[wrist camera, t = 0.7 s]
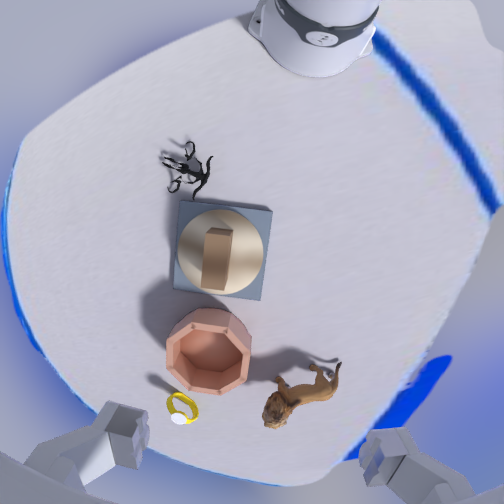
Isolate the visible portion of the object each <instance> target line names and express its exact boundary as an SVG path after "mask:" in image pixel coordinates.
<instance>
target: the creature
mask: <svg viewBox="0 0 504 504" xmlns="http://www.w3.org/2000/svg"><path fill="white" fill-rule="evenodd" d="M190 142H191V141H190ZM187 143H189V142H187ZM187 143H186V144H187ZM191 143H193V142H191ZM185 150H186V148H185ZM186 153H187V150H186ZM194 153H195V144H194V143H193V151H192V153H191V154H190V156H189V155H188V154H187V155H186V154H185V157H187V161H188V160H189V159H191V158H192V156H193V154H194ZM212 157H214V156H211V157H210V158H209V159H208V160H207V163H206V166H207V172H206V174H204V173H203V169H202V165H201V164H202V163H201V162H199V161H198V160H197V159H196V160H197V161H198V162H199V163H200V166H201V168H200V171H199V172H194V171H191V170H190V169H189V166H188V165H187V164H183V163H178V164H180V165H182V167H178V168H181V169H176V170H177V171H179V172H181V173H182V174H186V173H188V174H190V175H192V176H194V177H196V180H195V181H194V182H188V183H190V184H193V183H195V182H197V181H199V180H201V185H200V186H199V187H198V188H196V189H195V191H194V193H193V197H192V198H193V200H194V197H195V194H196V193H197V192H198V191H199V190H200V189H201V188H202V187H203V186H204V185H205V184H206V183H207V179H208V177H209V175H210V160H211V158H212ZM164 158H165V159H168V160H170V161H172V162H174V163H177V162H176V161H174V159H172V158H168V157H164ZM162 163H163V164H164V165H165V166H167V167H169V168H172V169H175V168H173V167H172V166H171V164H170V165H168V164H165V163H164V162H162ZM173 166H174V165H173ZM176 167H177V166H176ZM179 178H181V176H180V177H179ZM179 178H178V179H179ZM181 179H182V178H181ZM174 181H175V182H177V183H178V185H177V189H175V190H174V191H173V192H171V191H169V189H168V191H169V192H170V193H174V192H176V191H177V190H178V189H179V187H180V183H181V181H180V180H177V179H176V180H174ZM174 181H172V182H174ZM185 184H186V183H185Z"/></svg>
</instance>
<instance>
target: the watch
mask: <svg viewBox="0 0 504 504" xmlns="http://www.w3.org/2000/svg"><path fill="white" fill-rule="evenodd" d="M173 397H178V398H179V399H181V400H182V401H183V402H185V403H186V404H188V405H189V406H190V408H191V410H192V413H193V418H192V419H189V418H188V417H187V415H186V414H185V413H184V412H182V411H177V410H176V409H175V408H174V406H173V402H172V399H173ZM167 408H168V410H169V412H170V413H171V419H172V421H173V422H174V423H176V424H180V425H182V424H185V423H186V424H189V423H191V422H193V421H194V420H196V419H197V418H198V415H199V412H198V408H197V406H196V404H195V402H194V401H192V400H191V399H190V398H188V397H187V396H185V395H184V394H183V393H181V392H175V393H173V394H172V395H171V396H169V397H168V399H167Z"/></svg>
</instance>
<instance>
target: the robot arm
mask: <svg viewBox="0 0 504 504" xmlns="http://www.w3.org/2000/svg"><path fill="white" fill-rule="evenodd" d="M381 1H382V0H260V1H259V3H258V5H257V7H256V10H255V12H254V14H253V16H252V19H251V21H250V23H249V26H248V31H249V33H250V34H251V35H252V36H254V37H255V38H257V39H258V40H260V41H261V42H262V43H263V44H264V45H265V47H266V49H267V50H268V52H269V53H270V55H271V56H272V57H273V58H274V59H275V60H276V61H277V62H278V63H279V64H280V65H281V66H283V67H284V68H286V69H288V70H290V71H292V72H294V73H296V74H299V75H303V76H308V77H328V76H332V75H335V74H338V73H340V72H342V71H343V70H345V69H346V68H347V67H349V66H350V65H351V64H352V63H353V62H354V61H355V60H356V59H358V58H362V57H365V56H367V55H369V54H370V53H371V52H372V50H373V46H372V41H371V38H372V36H373V34H374V32H375V30H376V27H375V26H374V24H373V21H374V19H375V17H376V14H377V12H378V9H379V4H380V3H381ZM257 21H261V23H256V22H257ZM147 421H148V412H147V411H146V410H142V409H138V408H134V407H131V406H127V405H123V404H119V403H116V402H112V401H108V402H106V403H105V405H104V406H103V408H102V409H101V411H100V412H99V414H98V416H97V417H96V419H95V420H94V422H93V424H92V425H91V426H84V427H82V428H79V429H77V430H74V431H72V432H69V433H67V434H64V435H62V436H59V437H56V438H54V439H52V440H48V441H46V442H43V443H41V444H38V445H37V447H36V448H35V449H34V451H33V452H32V453H31V455H30V456H29V457H28V459H27V460H26V461H25V463H24V464H22V463H20V462H18V461H16V460H15V459H13V458H11V457H9V456H8V455H6V454H4V453H3V452H1V451H0V504H117V503H114V502H111V501H108V500H105V499H102V498H99V497H96V496H94V495H91V494H88V493H87V492H86V490H85V488H84V485H86V484H87V483H89V482H91V481H92V480H94V479H95V478H97V477H99V476H100V475H102V474H103V473H105V472H106V471H108V470H109V469H111V468H112V467H114V466H115V464H117V465H121V466H124V467H128V468H132V469H136V470H138V468H139V465H140V463H141V460H142V458H143V457H142V451H144V450H145V449H146V448H147V445H148V441H149V433H150V430H149V426H148V425H147V424H146V423H147ZM366 439H367V442H365V443H364V444H363V445H362V446H361V449H360V451H359V463H360V467H362V468H363V469H364V470H366V471H365V472H364V474H363V476H364V479H365V482H366V485H367V487H372V486H382V485H387V487H388V488H389V489H391V490H392V491H393V492H394V493H395V494H396V495H397V496H398V497H400V498H401V499H402V500H403V501H404V502H405V503H407V504H504V484H502V485H499V486H497V487H495V488H492V489H490V490H487V491H485V492H482V493H480V494H477V495H475V493H474V491H473V489H472V488H471V486H470V484H469V483H468V481H467V479H466V477H465V476H463V475H462V474H460V473H458V472H456V471H455V470H453V469H451V468H449V467H448V466H446V465H444V464H442V463H441V462H439V461H437V460H435V459H434V458H432V457H430V456H429V455H427V454H425V453H420V451H419V449H418V447H417V445H416V444H415V442H414V440H413V438H412V436H411V434H410V433H409V431H408V429H407V428H406V427H399V428H389V429H377V430H370V431H369V432H368V434H367V436H366Z"/></svg>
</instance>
